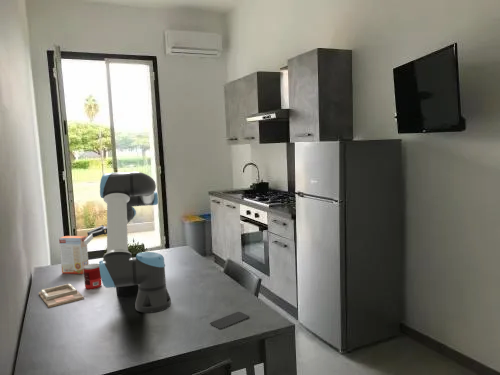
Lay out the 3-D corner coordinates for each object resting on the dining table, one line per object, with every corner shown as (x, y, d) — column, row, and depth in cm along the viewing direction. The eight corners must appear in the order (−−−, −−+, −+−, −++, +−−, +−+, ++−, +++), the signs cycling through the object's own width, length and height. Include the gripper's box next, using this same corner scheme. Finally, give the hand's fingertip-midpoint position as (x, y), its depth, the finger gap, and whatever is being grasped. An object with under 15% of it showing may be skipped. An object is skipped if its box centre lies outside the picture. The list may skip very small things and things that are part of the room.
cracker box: (89, 271, 227) (86, 235, 225) (83, 274, 222) (80, 238, 220) (68, 270, 231) (65, 235, 229) (61, 273, 225) (58, 237, 223)
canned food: (104, 284, 204) (102, 263, 203) (96, 289, 196) (95, 268, 195) (90, 284, 205) (88, 263, 204) (82, 289, 197) (80, 268, 196)
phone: (208, 322, 153) (238, 311, 162) (208, 325, 153) (238, 313, 162) (220, 329, 147) (250, 316, 157) (220, 331, 147) (250, 318, 157)
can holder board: (84, 298, 184) (83, 293, 184) (48, 307, 175) (48, 302, 175) (71, 287, 201) (71, 282, 201) (38, 294, 192) (38, 289, 192)
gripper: (139, 233, 219) (120, 254, 201) (98, 226, 223) (76, 247, 204) (138, 221, 216) (119, 242, 197) (96, 215, 220) (73, 235, 201)
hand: (97, 245), depth 201 cm, fingers open, 13 cm apart
